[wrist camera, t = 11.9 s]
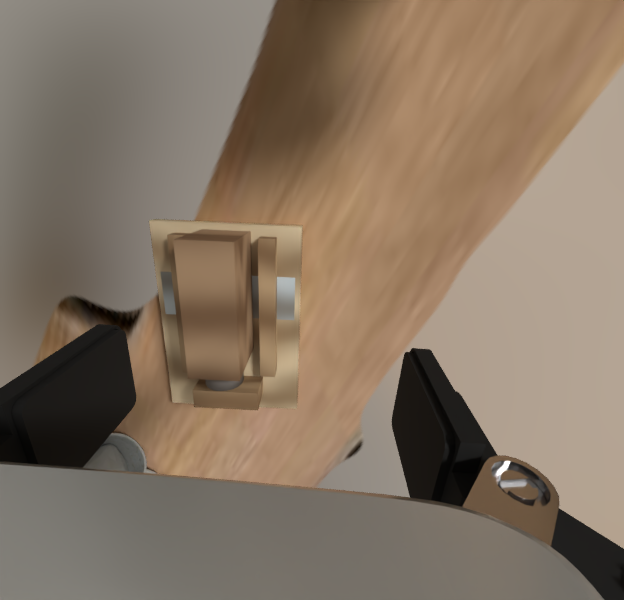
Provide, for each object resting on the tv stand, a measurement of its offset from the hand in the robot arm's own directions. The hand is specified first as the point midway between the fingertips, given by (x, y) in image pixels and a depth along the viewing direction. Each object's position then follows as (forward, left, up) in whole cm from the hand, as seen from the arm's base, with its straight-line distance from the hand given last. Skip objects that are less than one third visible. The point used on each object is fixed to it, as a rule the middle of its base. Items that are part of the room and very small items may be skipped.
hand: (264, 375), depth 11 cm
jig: (+8, -7, -22) cm, 24 cm away
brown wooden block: (+4, -7, -20) cm, 22 cm away
